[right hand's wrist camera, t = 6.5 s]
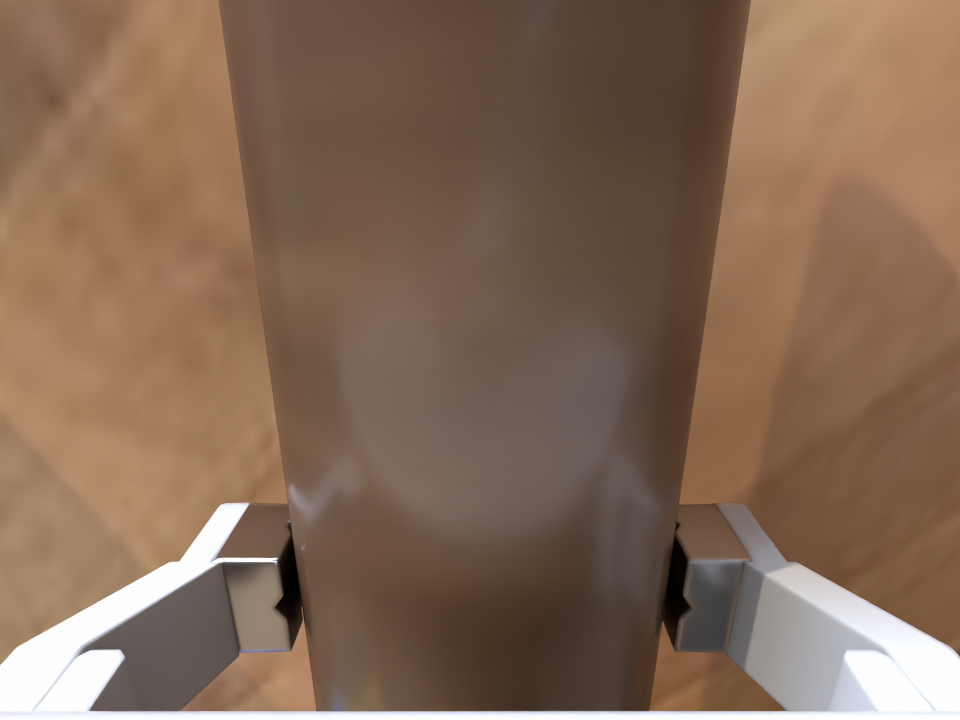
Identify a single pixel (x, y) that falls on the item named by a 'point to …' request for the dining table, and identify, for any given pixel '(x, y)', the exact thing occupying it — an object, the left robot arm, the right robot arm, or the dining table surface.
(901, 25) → the dining table surface
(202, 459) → the dining table surface
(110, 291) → the dining table surface
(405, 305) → the rod
